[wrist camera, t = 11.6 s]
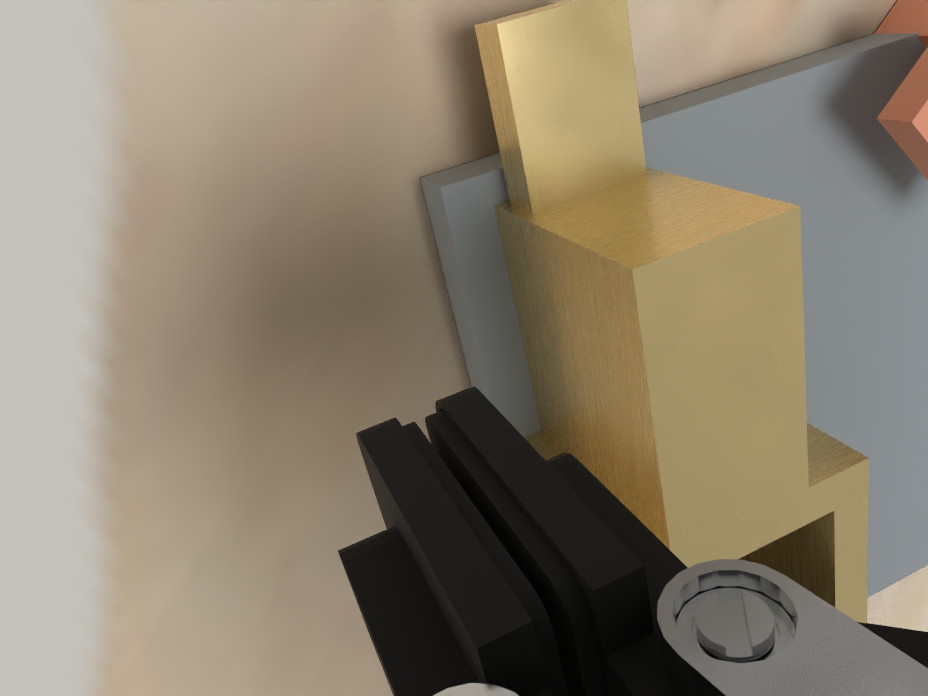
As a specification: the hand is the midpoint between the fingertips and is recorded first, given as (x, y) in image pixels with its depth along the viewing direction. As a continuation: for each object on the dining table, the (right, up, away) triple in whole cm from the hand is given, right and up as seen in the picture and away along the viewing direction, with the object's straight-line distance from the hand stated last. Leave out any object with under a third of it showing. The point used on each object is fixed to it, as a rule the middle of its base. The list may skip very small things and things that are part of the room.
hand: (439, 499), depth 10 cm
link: (+4, +2, +11) cm, 11 cm away
